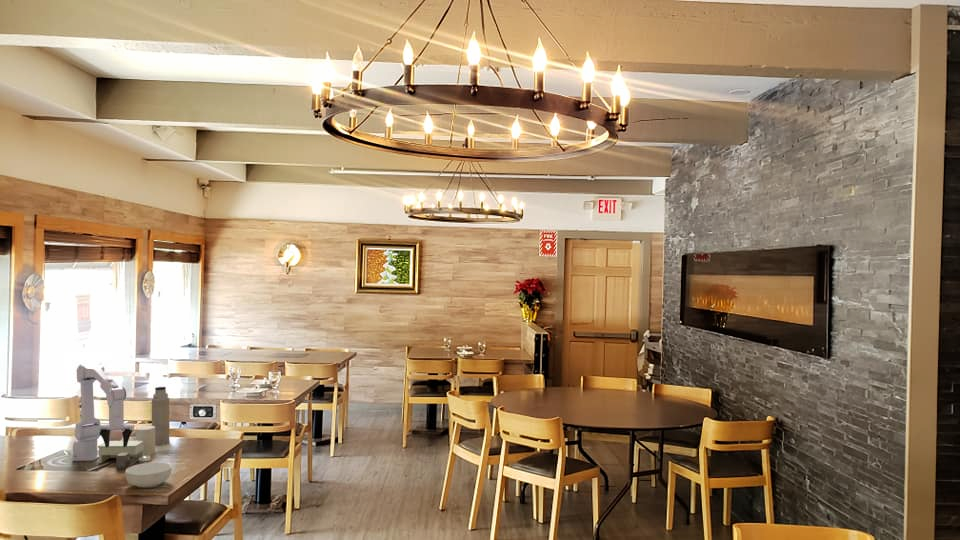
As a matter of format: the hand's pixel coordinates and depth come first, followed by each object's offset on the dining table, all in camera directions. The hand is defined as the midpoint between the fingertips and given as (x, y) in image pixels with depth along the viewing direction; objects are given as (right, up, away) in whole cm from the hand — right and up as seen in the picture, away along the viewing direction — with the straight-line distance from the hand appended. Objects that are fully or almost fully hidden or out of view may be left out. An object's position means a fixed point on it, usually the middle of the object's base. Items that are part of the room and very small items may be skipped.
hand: (116, 446), depth 308 cm
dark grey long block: (+2, -10, +8) cm, 13 cm away
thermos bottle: (-1, -10, +44) cm, 45 cm away
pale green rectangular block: (-5, -10, +14) cm, 18 cm away
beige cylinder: (0, -10, +26) cm, 28 cm away
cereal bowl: (+24, -11, -22) cm, 34 cm away
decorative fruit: (-21, -10, +39) cm, 45 cm away
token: (+7, -10, +12) cm, 17 cm away
